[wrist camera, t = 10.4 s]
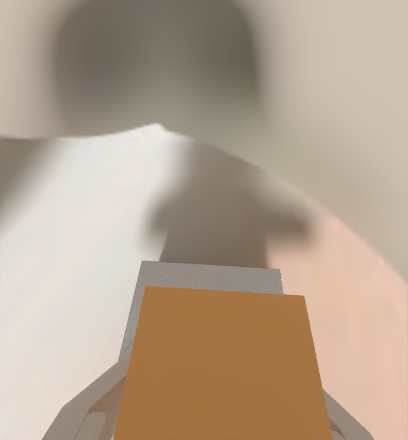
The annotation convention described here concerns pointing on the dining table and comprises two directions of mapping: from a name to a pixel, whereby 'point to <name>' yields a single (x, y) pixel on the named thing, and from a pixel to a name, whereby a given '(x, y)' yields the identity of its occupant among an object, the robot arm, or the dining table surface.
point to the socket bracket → (197, 285)
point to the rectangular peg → (222, 369)
